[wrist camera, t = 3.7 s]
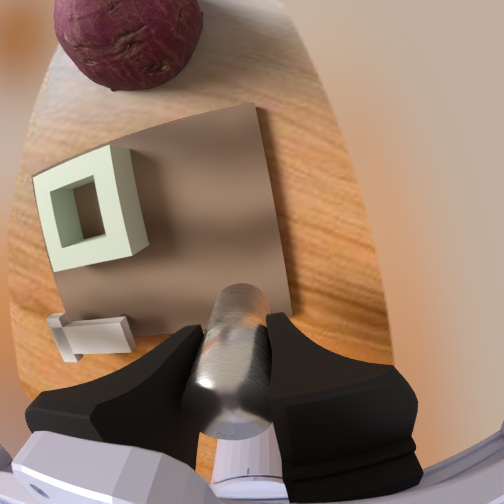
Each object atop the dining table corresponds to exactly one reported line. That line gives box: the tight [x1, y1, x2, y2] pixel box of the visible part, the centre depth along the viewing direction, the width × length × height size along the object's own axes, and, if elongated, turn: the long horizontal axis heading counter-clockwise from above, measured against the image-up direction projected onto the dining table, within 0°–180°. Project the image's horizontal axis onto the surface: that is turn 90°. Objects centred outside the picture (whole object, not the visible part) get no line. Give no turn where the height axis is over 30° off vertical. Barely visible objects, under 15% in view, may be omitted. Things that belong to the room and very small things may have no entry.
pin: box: [181, 283, 273, 440], centre depth 11 cm, size 3×3×7 cm
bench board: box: [32, 103, 293, 362], centre depth 19 cm, size 16×19×4 cm
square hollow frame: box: [33, 145, 149, 272], centre depth 18 cm, size 7×7×3 cm
